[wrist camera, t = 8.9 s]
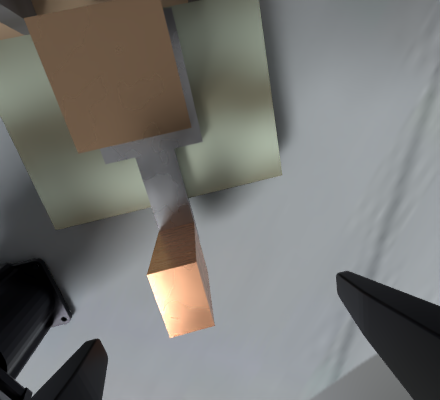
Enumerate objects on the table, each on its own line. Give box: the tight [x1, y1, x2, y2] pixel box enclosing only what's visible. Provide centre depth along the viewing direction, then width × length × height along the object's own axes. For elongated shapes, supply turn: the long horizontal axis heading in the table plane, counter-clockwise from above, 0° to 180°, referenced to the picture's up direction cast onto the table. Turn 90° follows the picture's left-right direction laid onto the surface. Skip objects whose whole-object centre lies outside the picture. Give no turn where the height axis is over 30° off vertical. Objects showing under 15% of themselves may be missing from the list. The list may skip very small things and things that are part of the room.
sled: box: [24, 0, 215, 338], centre depth 13 cm, size 16×6×6 cm, turn 12°
